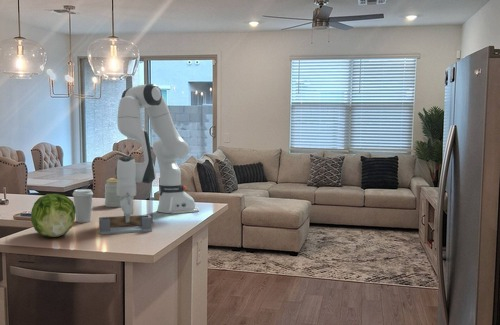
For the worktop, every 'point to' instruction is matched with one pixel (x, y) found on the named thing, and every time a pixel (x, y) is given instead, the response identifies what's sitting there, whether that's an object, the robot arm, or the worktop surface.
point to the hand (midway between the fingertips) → (126, 221)
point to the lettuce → (53, 215)
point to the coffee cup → (83, 204)
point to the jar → (112, 193)
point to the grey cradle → (144, 226)
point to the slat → (121, 220)
